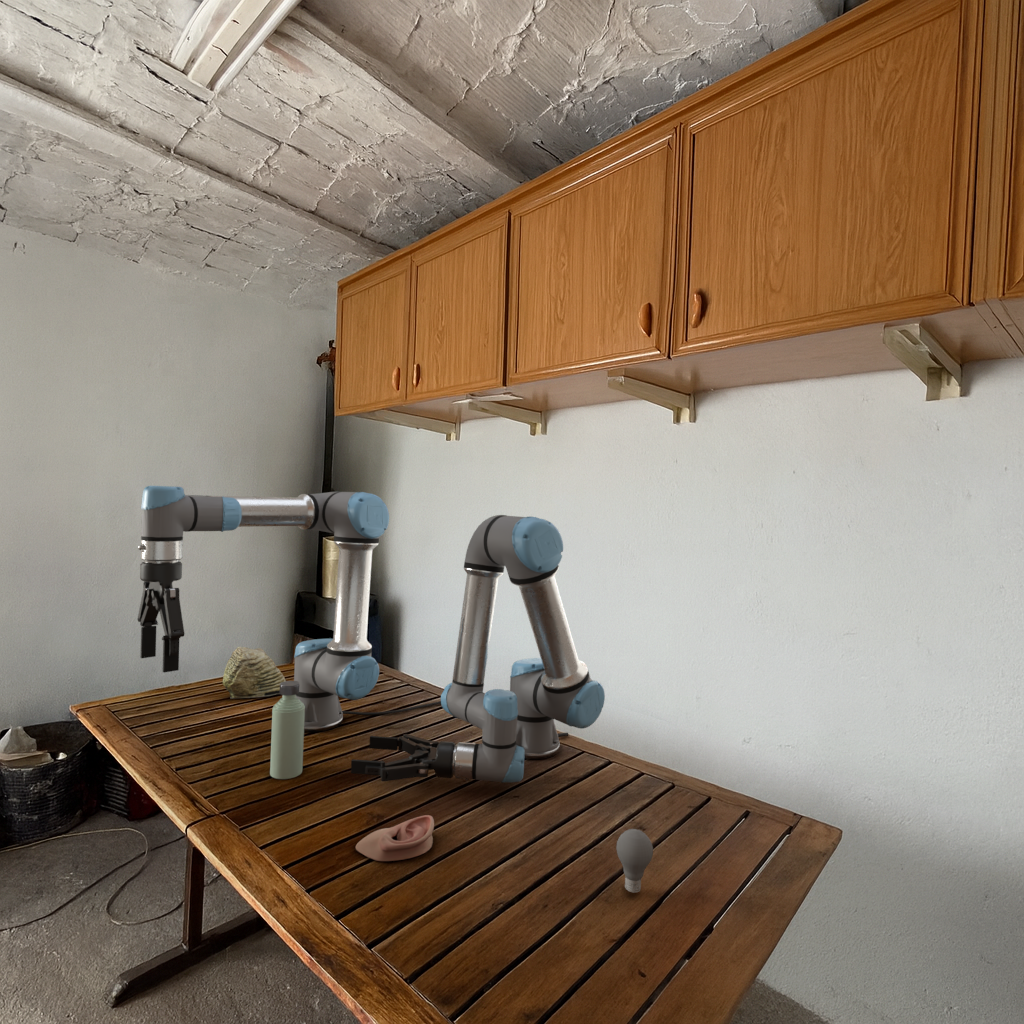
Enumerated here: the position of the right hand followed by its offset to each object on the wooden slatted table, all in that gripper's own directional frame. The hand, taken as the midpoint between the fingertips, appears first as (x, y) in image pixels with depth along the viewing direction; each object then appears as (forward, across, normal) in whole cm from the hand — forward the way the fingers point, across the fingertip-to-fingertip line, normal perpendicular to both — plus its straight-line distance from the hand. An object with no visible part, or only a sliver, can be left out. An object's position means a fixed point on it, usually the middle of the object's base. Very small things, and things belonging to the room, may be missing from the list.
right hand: (361, 753), depth 142 cm
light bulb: (-57, -33, -6) cm, 66 cm away
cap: (+18, +1, +14) cm, 23 cm away
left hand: (+39, -14, +22) cm, 47 cm away
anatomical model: (-14, -25, -6) cm, 30 cm away
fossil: (+50, +53, -6) cm, 73 cm away
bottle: (+18, +1, -6) cm, 19 cm away
